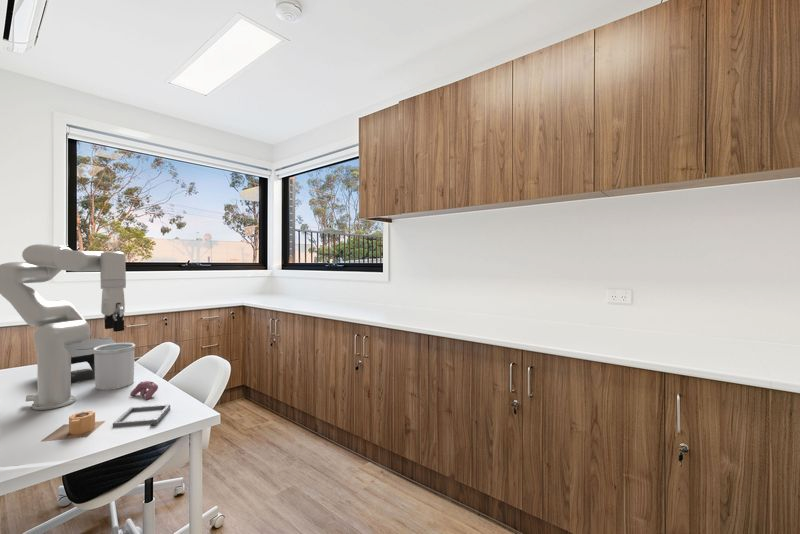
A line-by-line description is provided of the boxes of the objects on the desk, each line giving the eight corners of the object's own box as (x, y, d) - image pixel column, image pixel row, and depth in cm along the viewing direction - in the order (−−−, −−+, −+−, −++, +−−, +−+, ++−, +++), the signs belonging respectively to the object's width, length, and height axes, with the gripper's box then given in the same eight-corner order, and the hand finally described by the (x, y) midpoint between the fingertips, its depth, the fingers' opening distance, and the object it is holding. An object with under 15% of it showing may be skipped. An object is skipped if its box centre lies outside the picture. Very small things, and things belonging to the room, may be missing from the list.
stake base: (40, 444, 113) (40, 425, 113) (63, 426, 125) (63, 410, 125) (86, 439, 116) (86, 421, 116) (105, 423, 128) (105, 407, 128)
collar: (62, 437, 116) (62, 421, 116) (76, 426, 123) (76, 411, 123) (85, 435, 118) (85, 419, 118) (97, 424, 125) (97, 410, 125)
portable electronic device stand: (108, 364, 198) (108, 335, 197) (125, 373, 184) (125, 342, 183) (43, 376, 177) (43, 344, 177) (56, 386, 163) (56, 351, 163)
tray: (112, 429, 123) (112, 423, 123) (130, 412, 137) (130, 407, 137) (156, 425, 127) (156, 419, 127) (170, 409, 140) (170, 404, 140)
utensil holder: (127, 389, 161) (127, 349, 161) (86, 392, 157) (86, 351, 157) (140, 378, 175) (140, 341, 175) (103, 381, 171) (103, 343, 171)
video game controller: (154, 400, 153) (162, 383, 156) (145, 399, 149) (152, 381, 152) (137, 397, 156) (145, 380, 159) (127, 396, 152) (135, 378, 155)
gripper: (93, 284, 141) (94, 329, 141) (108, 285, 131) (109, 333, 131) (117, 283, 147) (118, 326, 147) (133, 284, 137) (134, 330, 137)
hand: (114, 329), depth 139 cm, fingers open, 9 cm apart
